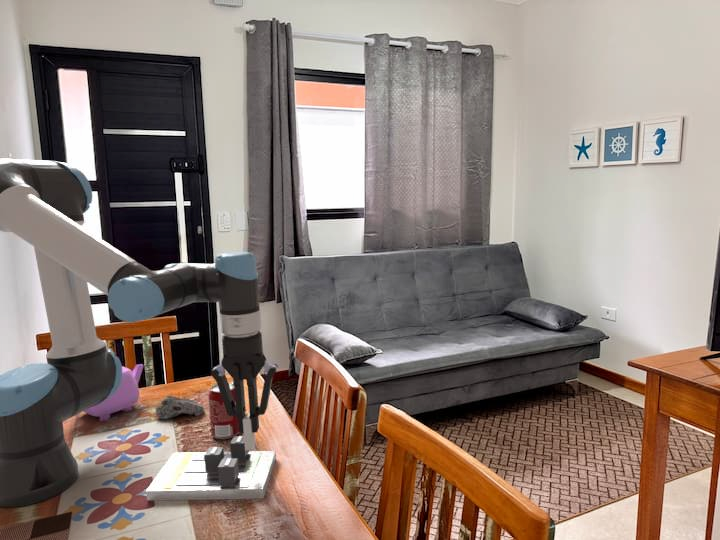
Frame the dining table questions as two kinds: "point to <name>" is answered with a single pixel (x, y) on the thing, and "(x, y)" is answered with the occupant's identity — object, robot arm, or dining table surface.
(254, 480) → the panel
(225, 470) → the breaker near
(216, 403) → the soda can
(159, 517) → the dining table surface
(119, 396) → the teapot
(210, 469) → the breaker
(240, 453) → the breaker far
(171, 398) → the grey rock
